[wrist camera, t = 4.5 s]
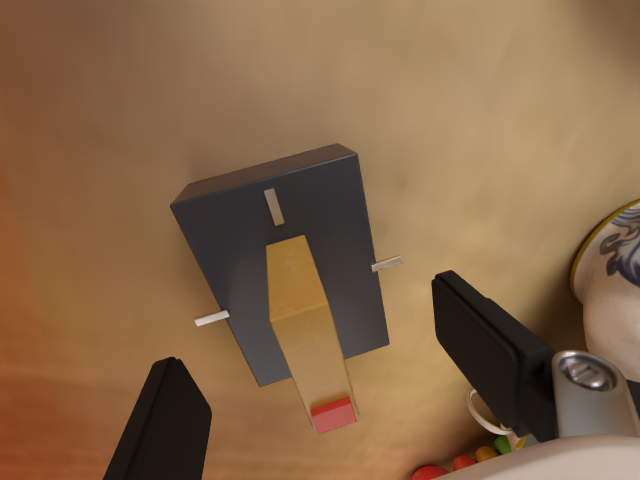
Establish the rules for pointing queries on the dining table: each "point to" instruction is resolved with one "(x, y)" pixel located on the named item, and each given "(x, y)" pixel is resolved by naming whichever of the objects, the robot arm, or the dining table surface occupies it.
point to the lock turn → (308, 335)
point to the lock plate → (278, 225)
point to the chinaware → (602, 301)
